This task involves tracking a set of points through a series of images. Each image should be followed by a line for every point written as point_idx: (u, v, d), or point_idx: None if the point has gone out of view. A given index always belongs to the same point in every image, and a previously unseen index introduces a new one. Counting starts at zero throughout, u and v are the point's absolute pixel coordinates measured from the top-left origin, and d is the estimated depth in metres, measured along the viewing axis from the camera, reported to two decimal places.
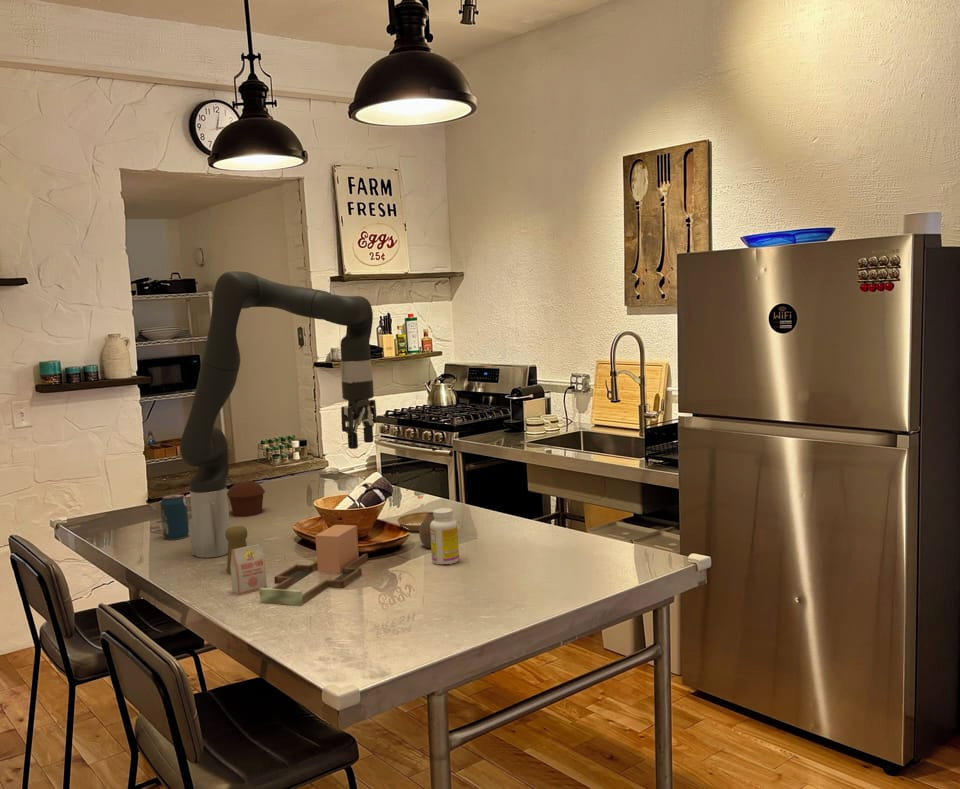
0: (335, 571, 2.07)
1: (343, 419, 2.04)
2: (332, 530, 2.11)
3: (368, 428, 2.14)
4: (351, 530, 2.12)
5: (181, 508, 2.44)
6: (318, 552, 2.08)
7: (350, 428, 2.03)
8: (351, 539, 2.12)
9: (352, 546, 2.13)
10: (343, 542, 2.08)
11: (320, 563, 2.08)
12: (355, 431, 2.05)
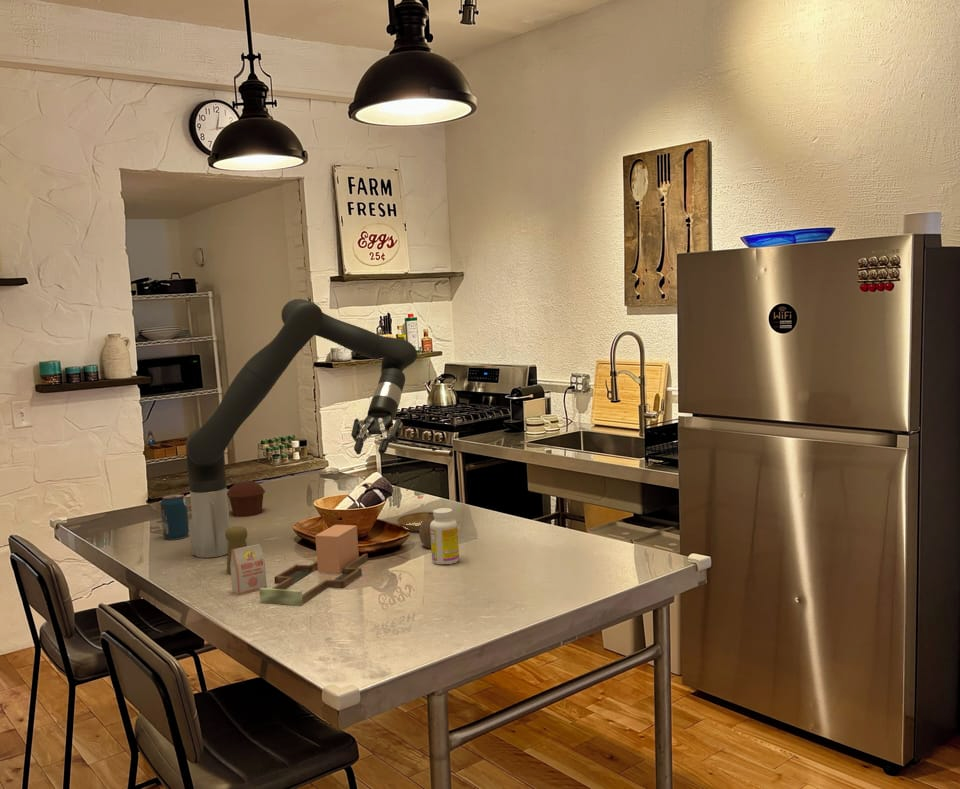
0: (335, 571, 2.07)
1: (397, 429, 2.30)
2: (332, 530, 2.11)
3: (362, 442, 2.32)
4: (351, 530, 2.12)
5: (181, 508, 2.44)
6: (318, 552, 2.08)
7: (396, 439, 2.30)
8: (351, 539, 2.12)
9: (352, 546, 2.13)
10: (343, 542, 2.08)
11: (320, 563, 2.08)
12: None
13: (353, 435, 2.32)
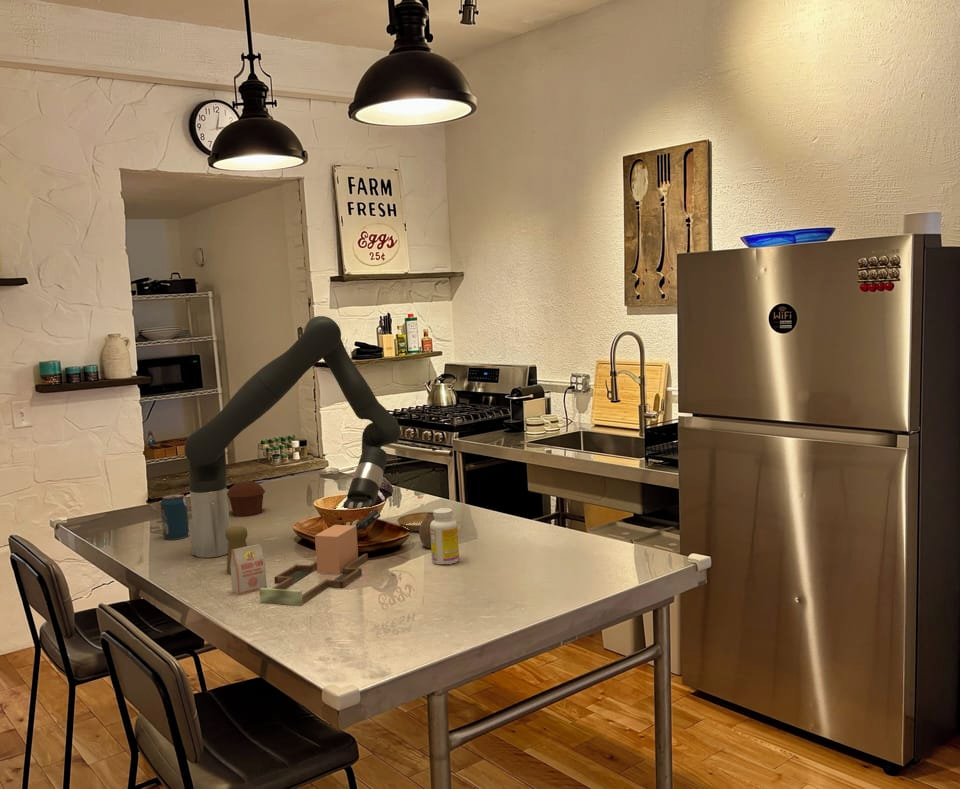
0: (334, 571, 2.07)
1: (369, 519, 2.18)
2: (332, 530, 2.11)
3: None
4: (351, 530, 2.12)
5: (181, 508, 2.44)
6: (317, 552, 2.07)
7: None
8: (351, 539, 2.12)
9: (352, 546, 2.12)
10: (342, 542, 2.08)
11: (319, 563, 2.08)
12: None
13: (342, 523, 2.19)
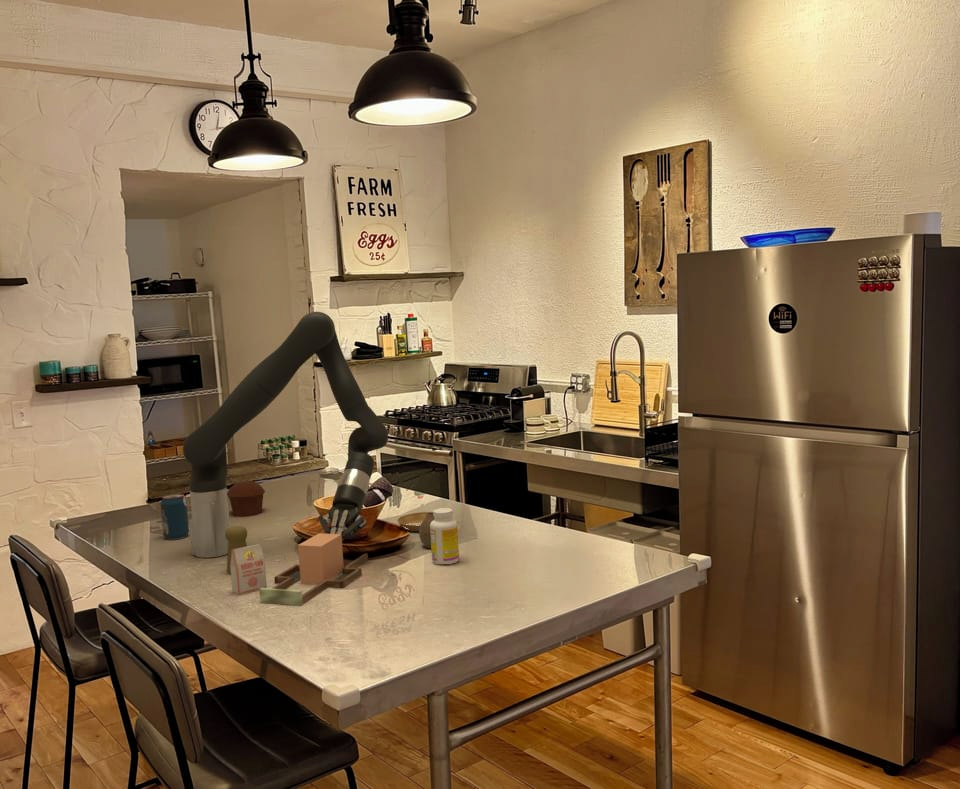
0: (319, 582, 1.99)
1: (355, 528, 2.11)
2: (316, 539, 2.03)
3: None
4: (335, 539, 2.04)
5: (181, 508, 2.44)
6: (301, 562, 2.00)
7: None
8: (336, 549, 2.04)
9: (337, 555, 2.05)
10: (327, 552, 2.00)
11: (303, 574, 2.00)
12: None
13: (326, 532, 2.12)
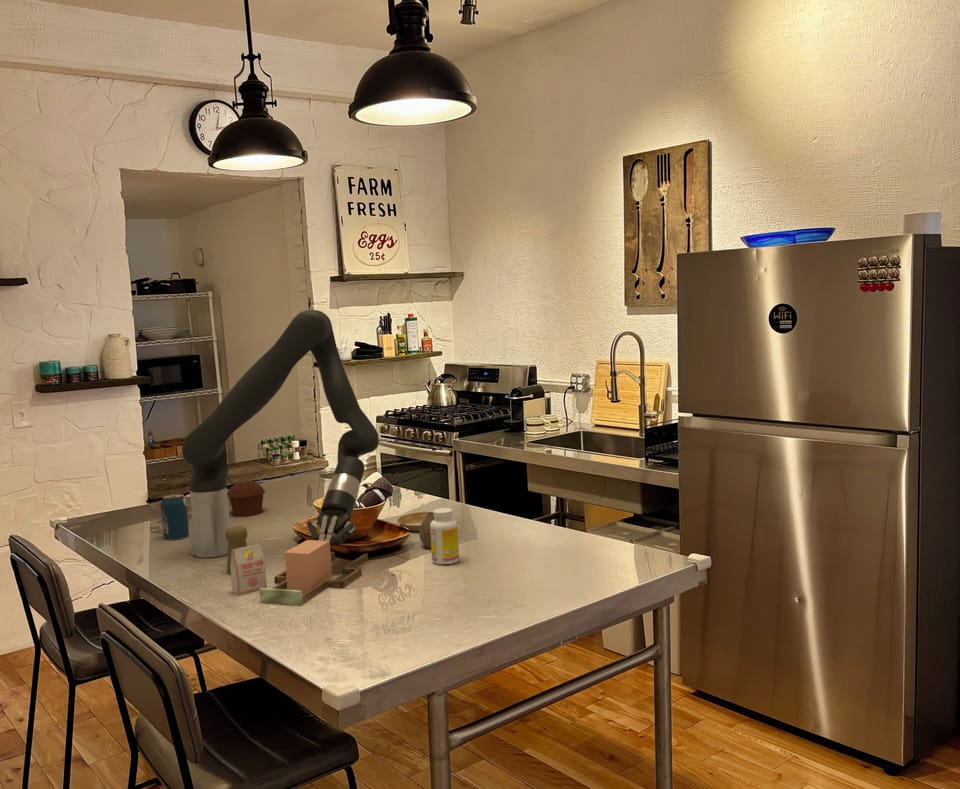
0: (306, 590, 1.93)
1: (344, 534, 2.05)
2: (303, 546, 1.98)
3: None
4: (323, 546, 1.99)
5: (181, 508, 2.44)
6: (288, 570, 1.94)
7: None
8: (324, 556, 1.99)
9: (325, 563, 1.99)
10: (314, 559, 1.95)
11: (290, 582, 1.94)
12: None
13: (315, 538, 2.06)
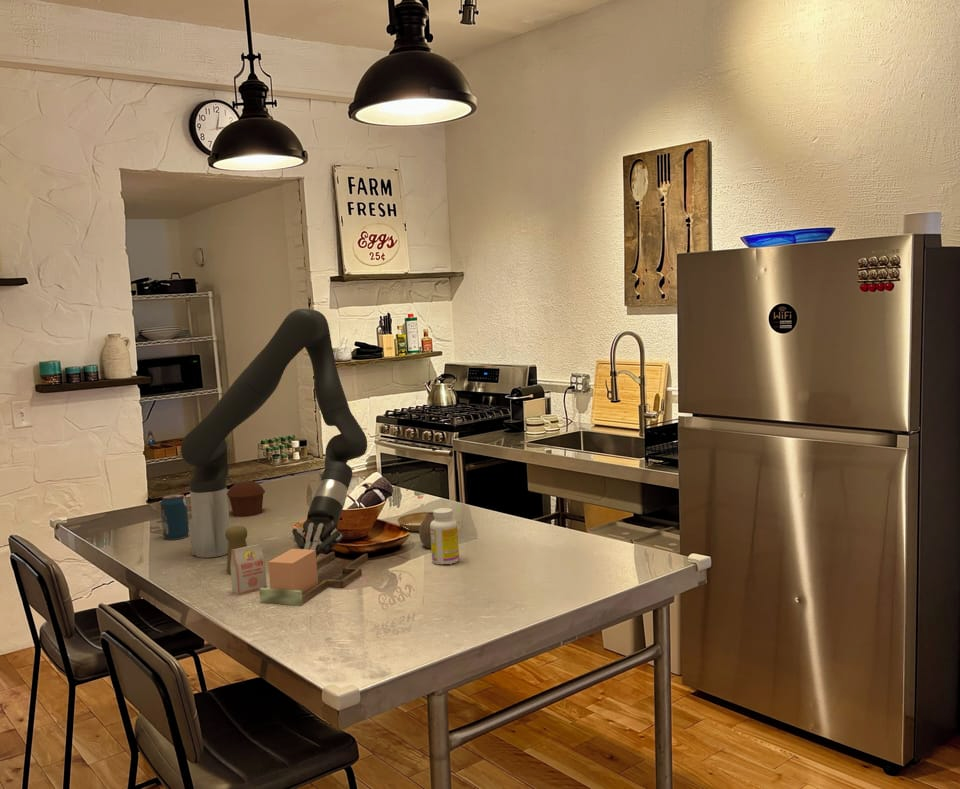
0: None
1: (330, 542, 1.99)
2: (288, 555, 1.91)
3: None
4: (309, 555, 1.92)
5: (181, 508, 2.44)
6: (271, 580, 1.88)
7: None
8: (309, 565, 1.92)
9: (310, 572, 1.93)
10: (299, 569, 1.88)
11: None
12: None
13: (300, 546, 2.00)
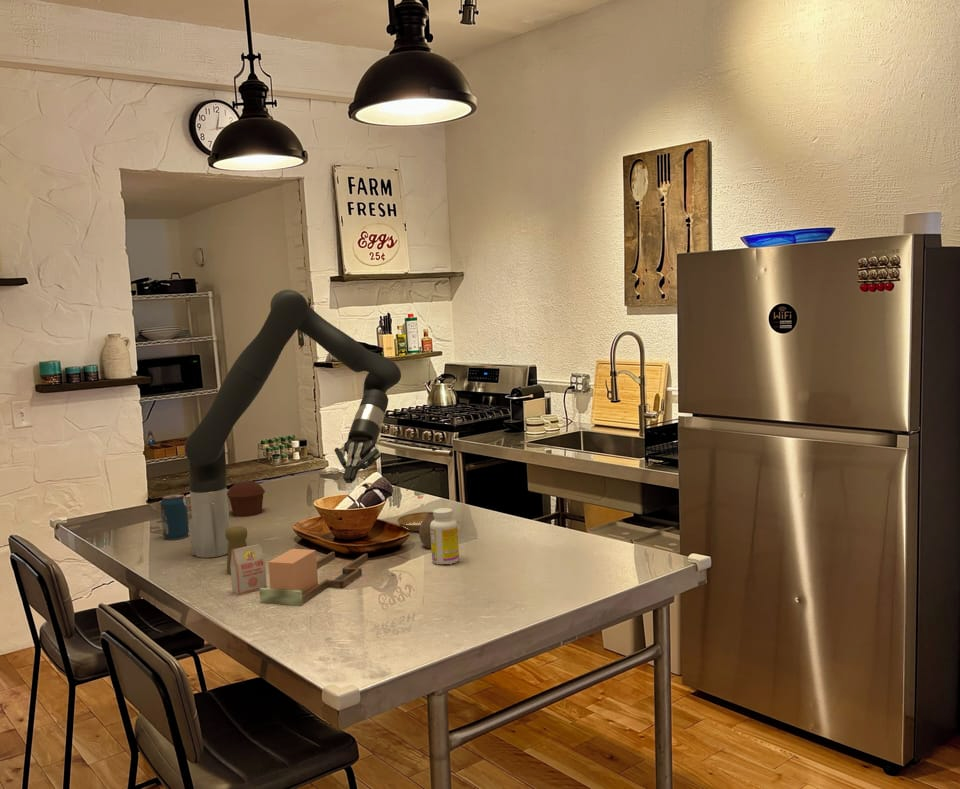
0: None
1: (370, 458, 2.19)
2: (288, 555, 1.91)
3: None
4: (309, 555, 1.92)
5: (181, 508, 2.44)
6: (271, 580, 1.88)
7: None
8: (309, 565, 1.92)
9: (310, 573, 1.93)
10: (299, 569, 1.88)
11: None
12: None
13: (342, 463, 2.20)
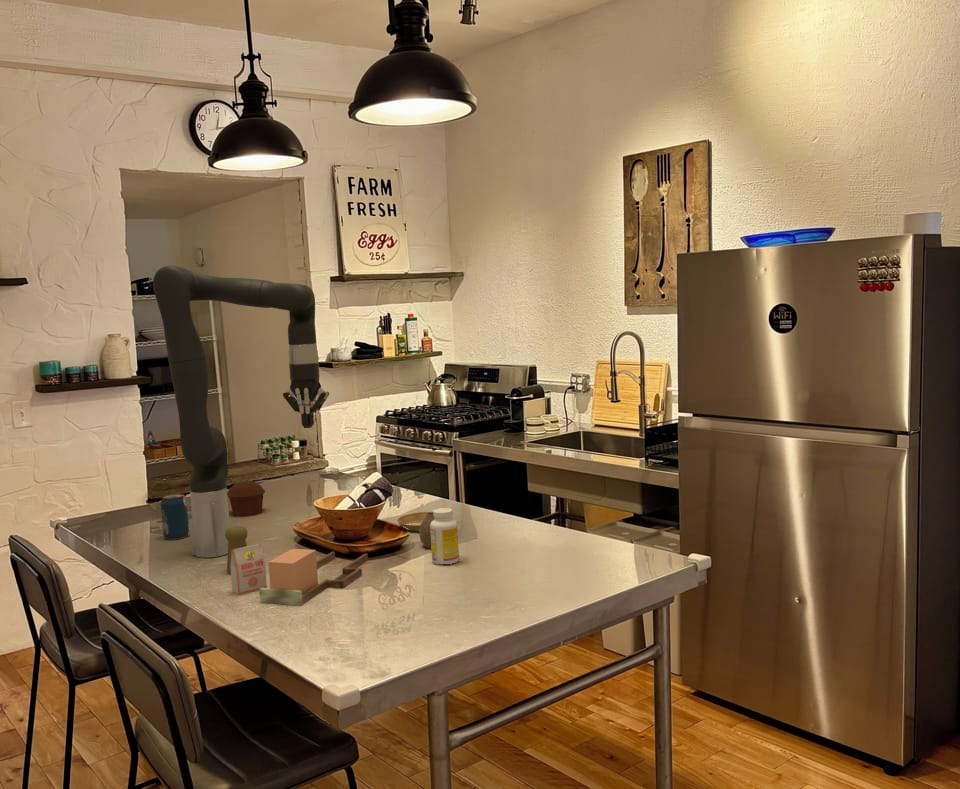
0: None
1: (320, 403, 2.23)
2: (288, 555, 1.91)
3: None
4: (309, 555, 1.92)
5: (181, 508, 2.44)
6: (271, 580, 1.88)
7: None
8: (309, 565, 1.92)
9: (310, 573, 1.93)
10: (299, 569, 1.88)
11: None
12: None
13: (296, 410, 2.25)
